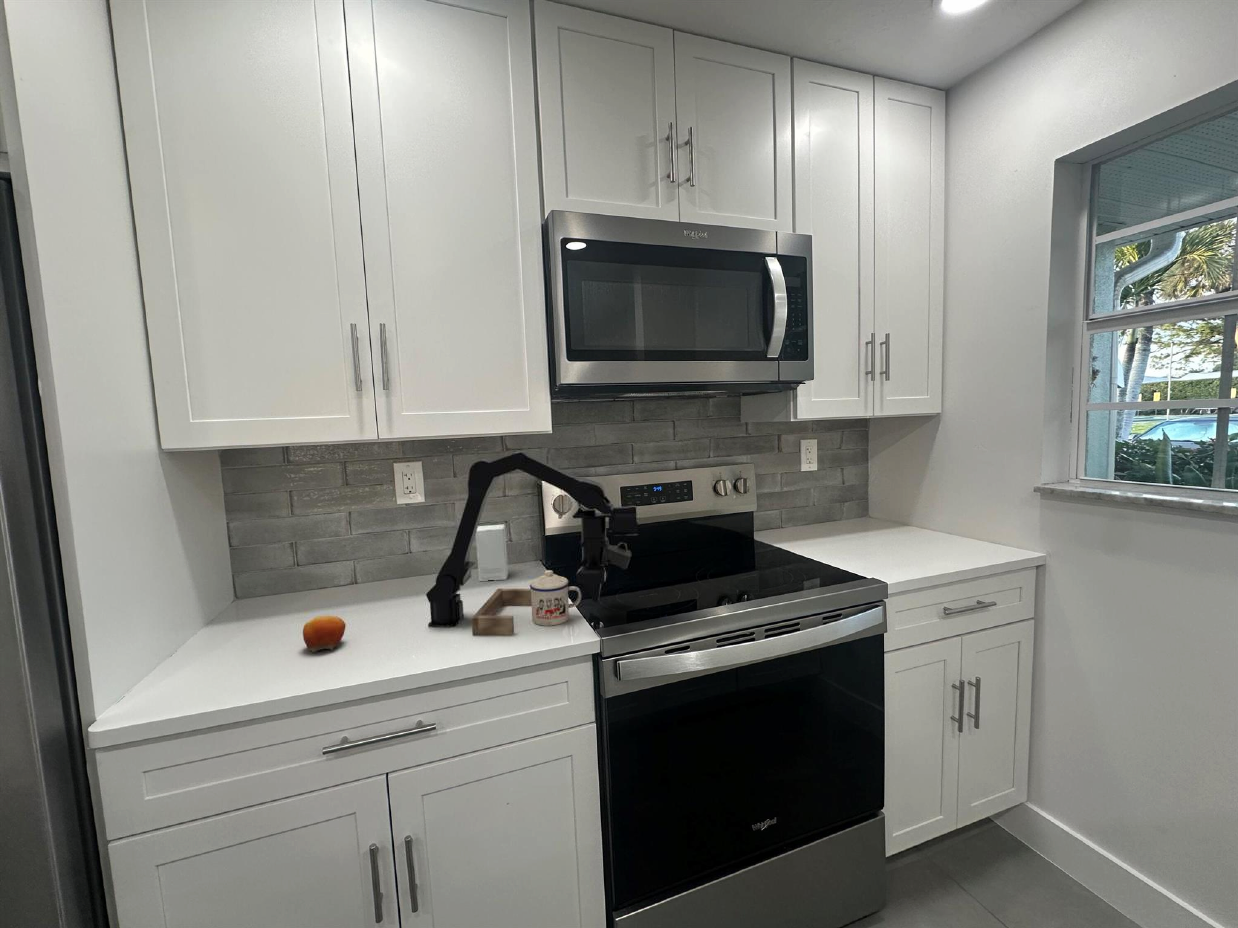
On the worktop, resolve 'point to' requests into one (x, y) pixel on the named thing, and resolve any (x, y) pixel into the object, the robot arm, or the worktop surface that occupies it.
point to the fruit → (323, 632)
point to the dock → (485, 616)
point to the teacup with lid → (551, 599)
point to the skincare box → (491, 552)
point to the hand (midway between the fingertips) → (596, 601)
